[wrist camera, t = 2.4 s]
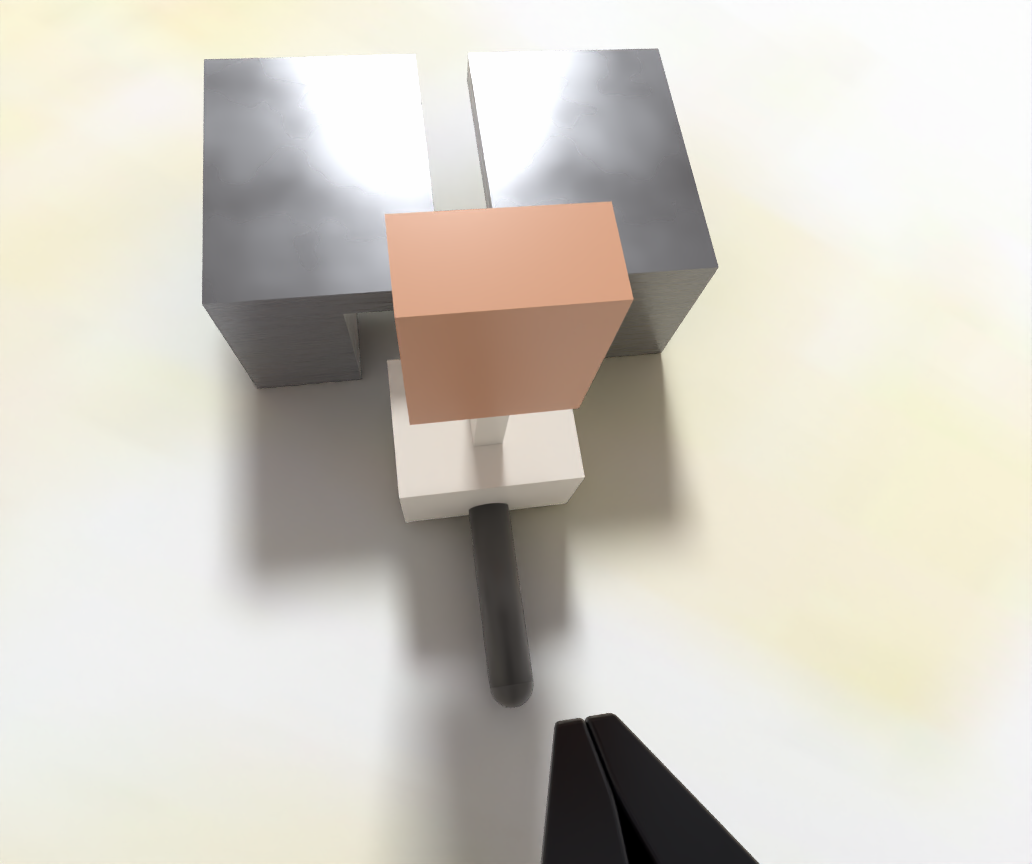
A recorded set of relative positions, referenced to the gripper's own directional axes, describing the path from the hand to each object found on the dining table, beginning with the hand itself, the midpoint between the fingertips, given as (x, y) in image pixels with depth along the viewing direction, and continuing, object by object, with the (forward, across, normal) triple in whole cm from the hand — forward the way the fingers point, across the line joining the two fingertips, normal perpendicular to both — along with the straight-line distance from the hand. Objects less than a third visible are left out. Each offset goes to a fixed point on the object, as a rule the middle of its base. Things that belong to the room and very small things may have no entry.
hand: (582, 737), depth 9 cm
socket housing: (+18, 0, -3) cm, 18 cm away
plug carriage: (+11, 0, +4) cm, 11 cm away
